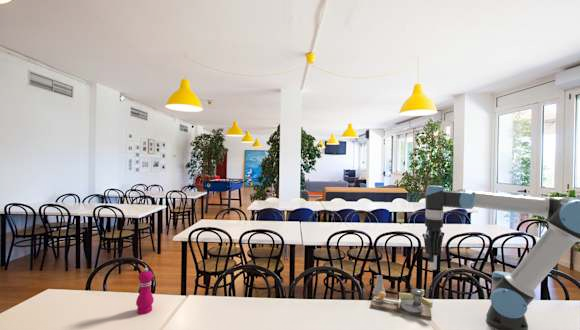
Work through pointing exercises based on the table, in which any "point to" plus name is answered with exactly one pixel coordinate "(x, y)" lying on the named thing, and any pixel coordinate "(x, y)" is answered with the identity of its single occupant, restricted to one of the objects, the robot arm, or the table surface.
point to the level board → (394, 308)
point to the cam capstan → (414, 301)
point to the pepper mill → (145, 292)
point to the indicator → (382, 296)
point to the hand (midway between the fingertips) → (432, 268)
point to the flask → (378, 286)
